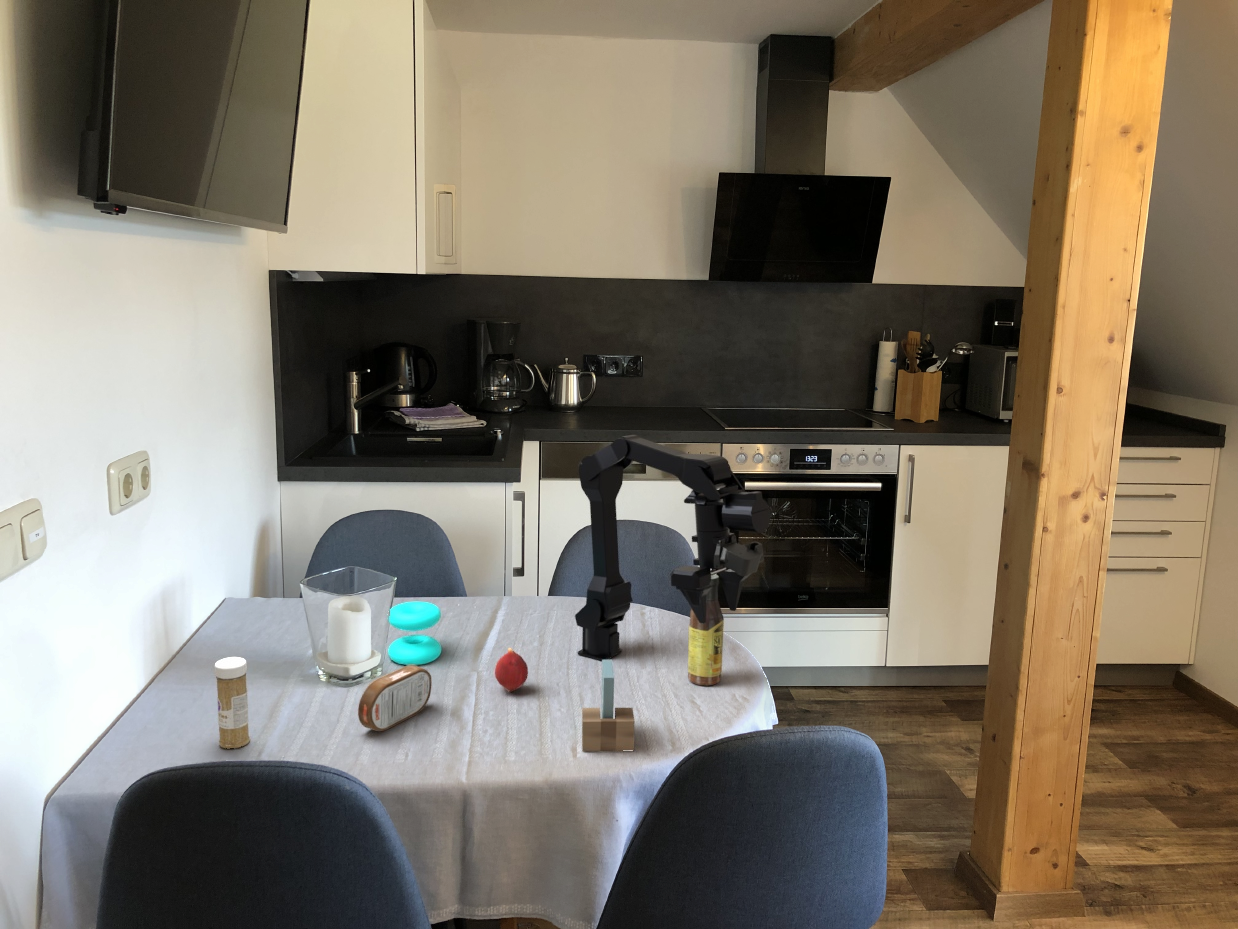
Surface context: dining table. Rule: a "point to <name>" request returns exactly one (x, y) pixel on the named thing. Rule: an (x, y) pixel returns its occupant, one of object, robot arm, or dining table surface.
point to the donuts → (414, 646)
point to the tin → (394, 697)
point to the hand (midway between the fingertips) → (718, 616)
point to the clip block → (607, 730)
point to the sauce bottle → (706, 641)
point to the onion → (511, 671)
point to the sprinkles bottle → (232, 702)
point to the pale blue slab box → (607, 690)
